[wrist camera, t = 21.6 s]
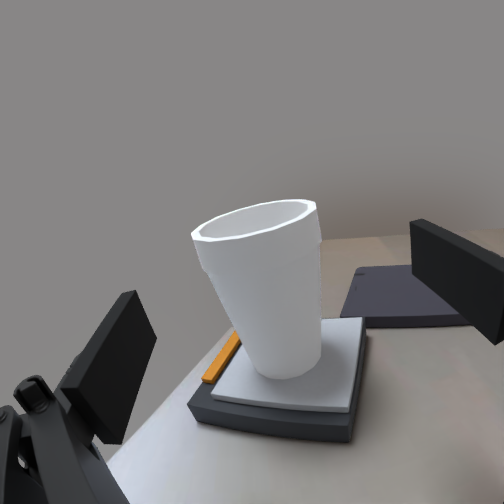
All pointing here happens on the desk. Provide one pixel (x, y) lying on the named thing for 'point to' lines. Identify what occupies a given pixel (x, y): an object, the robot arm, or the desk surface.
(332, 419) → the scale
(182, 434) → the desk surface
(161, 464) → the desk surface
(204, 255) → the foam cup
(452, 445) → the desk surface
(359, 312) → the notebook
